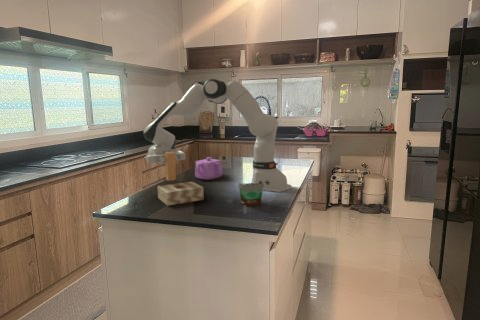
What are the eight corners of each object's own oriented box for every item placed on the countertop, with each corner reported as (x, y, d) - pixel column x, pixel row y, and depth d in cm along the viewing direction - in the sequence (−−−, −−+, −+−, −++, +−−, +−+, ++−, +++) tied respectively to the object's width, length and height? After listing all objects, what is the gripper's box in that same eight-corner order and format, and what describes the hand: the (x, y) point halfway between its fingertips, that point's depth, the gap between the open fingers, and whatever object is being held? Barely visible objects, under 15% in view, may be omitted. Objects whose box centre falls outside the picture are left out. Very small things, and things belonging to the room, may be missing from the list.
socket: (192, 192, 173) (192, 181, 172) (203, 199, 161) (203, 187, 160) (158, 197, 164) (157, 186, 163) (167, 205, 152) (166, 192, 151)
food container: (241, 208, 148) (241, 186, 146) (237, 204, 154) (237, 182, 152) (267, 205, 151) (268, 184, 150) (263, 201, 157) (263, 181, 155)
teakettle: (195, 180, 199) (195, 160, 197) (194, 174, 216) (194, 155, 213) (224, 179, 202) (223, 159, 200) (221, 173, 218) (221, 154, 216)
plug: (173, 178, 175) (172, 151, 173) (175, 179, 172) (175, 152, 169) (165, 179, 173) (164, 152, 171) (168, 180, 170) (167, 153, 167)
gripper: (142, 151, 176) (149, 155, 164) (179, 148, 186) (189, 151, 174) (143, 163, 177) (150, 167, 165) (180, 159, 187) (189, 163, 175)
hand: (170, 159), depth 170 cm, fingers closed on plug, 4 cm apart
